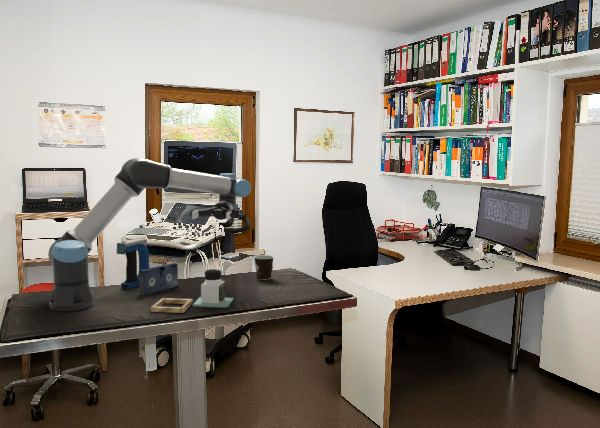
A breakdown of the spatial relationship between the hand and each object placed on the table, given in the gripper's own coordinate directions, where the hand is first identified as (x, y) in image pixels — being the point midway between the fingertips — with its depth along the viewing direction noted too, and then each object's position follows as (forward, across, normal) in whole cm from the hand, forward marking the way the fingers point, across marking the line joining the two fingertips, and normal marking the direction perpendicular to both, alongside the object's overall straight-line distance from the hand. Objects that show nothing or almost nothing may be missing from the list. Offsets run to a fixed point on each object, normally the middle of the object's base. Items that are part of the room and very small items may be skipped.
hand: (210, 216), depth 197 cm
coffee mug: (-29, -17, -32) cm, 47 cm away
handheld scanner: (-11, +36, -32) cm, 50 cm away
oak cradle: (+17, +10, -32) cm, 37 cm away
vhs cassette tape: (-6, +23, -32) cm, 40 cm away
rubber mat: (+10, -4, -32) cm, 34 cm away
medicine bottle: (+10, -4, -31) cm, 33 cm away
